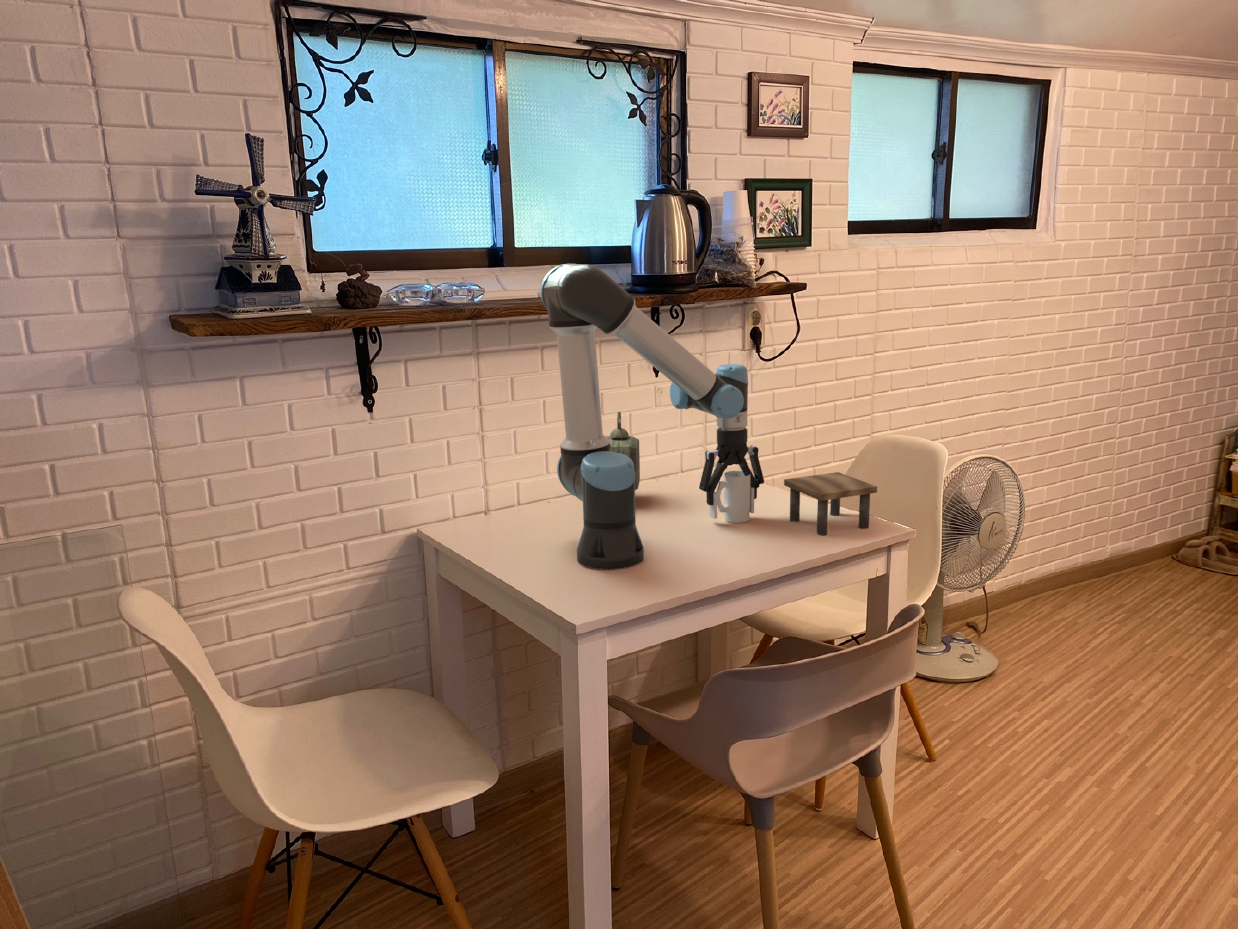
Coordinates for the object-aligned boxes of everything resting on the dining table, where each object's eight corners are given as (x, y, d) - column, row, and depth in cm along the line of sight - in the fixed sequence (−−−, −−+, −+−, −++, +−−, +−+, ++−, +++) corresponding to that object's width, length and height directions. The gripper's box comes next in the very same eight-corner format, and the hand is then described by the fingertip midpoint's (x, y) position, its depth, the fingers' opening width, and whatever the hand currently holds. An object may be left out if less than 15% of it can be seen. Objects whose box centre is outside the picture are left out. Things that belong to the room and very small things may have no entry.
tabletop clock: (608, 494, 260) (605, 407, 254) (640, 494, 259) (638, 406, 253) (603, 509, 246) (600, 417, 240) (637, 509, 245) (635, 416, 239)
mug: (738, 514, 238) (738, 469, 235) (755, 520, 233) (756, 474, 230) (707, 521, 233) (707, 475, 230) (725, 527, 227) (725, 480, 225)
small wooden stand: (819, 537, 218) (820, 494, 216) (783, 519, 233) (784, 479, 230) (875, 528, 224) (877, 486, 221) (836, 511, 238) (838, 472, 236)
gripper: (698, 434, 220) (698, 524, 225) (779, 425, 228) (778, 512, 233) (684, 429, 227) (685, 516, 232) (763, 420, 235) (762, 505, 240)
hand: (731, 514), depth 232 cm, fingers closed on mug, 10 cm apart
